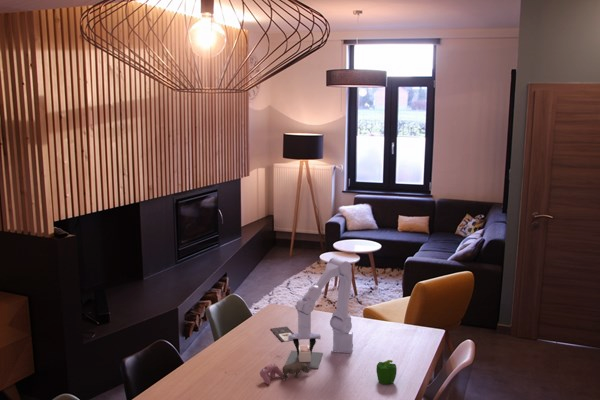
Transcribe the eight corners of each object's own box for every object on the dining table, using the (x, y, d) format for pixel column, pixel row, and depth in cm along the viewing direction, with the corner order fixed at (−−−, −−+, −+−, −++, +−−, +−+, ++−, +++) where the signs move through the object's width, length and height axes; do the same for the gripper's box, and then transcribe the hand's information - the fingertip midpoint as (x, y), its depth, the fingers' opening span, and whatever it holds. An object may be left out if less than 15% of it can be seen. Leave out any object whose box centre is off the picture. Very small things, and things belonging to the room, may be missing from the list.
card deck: (310, 361, 252) (310, 351, 252) (299, 362, 252) (299, 352, 251) (308, 354, 261) (308, 344, 260) (297, 354, 260) (297, 344, 260)
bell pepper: (371, 382, 234) (372, 359, 233) (383, 376, 240) (384, 353, 239) (387, 389, 229) (388, 365, 227) (399, 382, 234) (400, 359, 233)
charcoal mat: (323, 353, 263) (323, 352, 263) (317, 369, 247) (317, 368, 247) (291, 351, 266) (291, 350, 266) (284, 366, 249) (284, 365, 249)
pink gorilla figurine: (277, 378, 241) (271, 362, 242) (285, 376, 239) (279, 360, 240) (262, 386, 234) (256, 370, 235) (269, 384, 231) (263, 368, 232)
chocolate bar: (286, 326, 297) (298, 338, 280) (286, 328, 297) (298, 340, 281) (270, 328, 294) (281, 340, 277) (270, 330, 294) (281, 342, 277)
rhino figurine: (313, 376, 240) (313, 362, 239) (283, 381, 235) (283, 367, 235) (310, 372, 244) (310, 358, 243) (279, 377, 239) (279, 363, 238)
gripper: (319, 322, 259) (319, 350, 260) (287, 323, 257) (287, 351, 259) (321, 327, 252) (320, 356, 254) (288, 328, 250) (288, 357, 252)
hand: (304, 354), depth 256 cm, fingers closed on card deck, 5 cm apart
